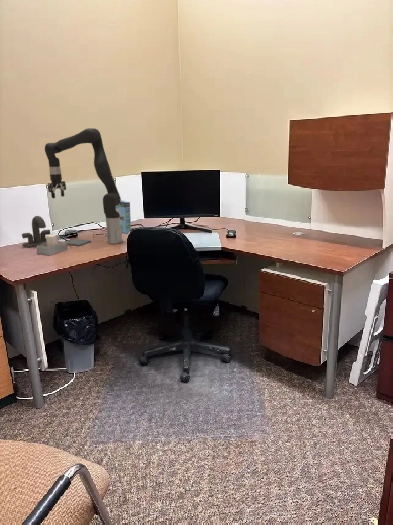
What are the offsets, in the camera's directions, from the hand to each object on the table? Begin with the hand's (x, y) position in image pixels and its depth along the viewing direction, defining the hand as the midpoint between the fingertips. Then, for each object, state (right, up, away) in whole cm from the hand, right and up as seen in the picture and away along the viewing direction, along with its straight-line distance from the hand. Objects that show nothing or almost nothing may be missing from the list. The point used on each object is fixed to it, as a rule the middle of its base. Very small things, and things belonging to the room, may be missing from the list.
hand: (58, 197), depth 287 cm
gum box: (+39, -21, +27) cm, 52 cm away
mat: (+15, -32, -6) cm, 36 cm away
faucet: (-8, -34, -11) cm, 37 cm away
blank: (+5, -38, -25) cm, 46 cm away
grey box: (+5, -38, -25) cm, 46 cm away
